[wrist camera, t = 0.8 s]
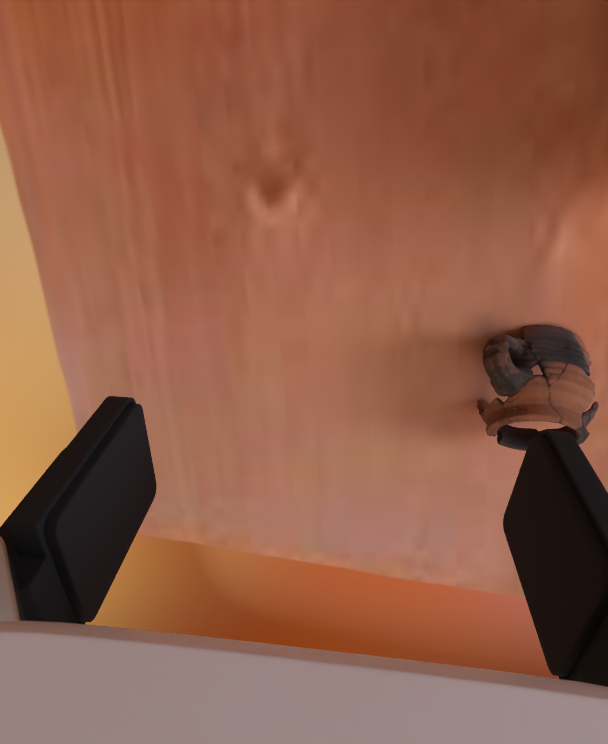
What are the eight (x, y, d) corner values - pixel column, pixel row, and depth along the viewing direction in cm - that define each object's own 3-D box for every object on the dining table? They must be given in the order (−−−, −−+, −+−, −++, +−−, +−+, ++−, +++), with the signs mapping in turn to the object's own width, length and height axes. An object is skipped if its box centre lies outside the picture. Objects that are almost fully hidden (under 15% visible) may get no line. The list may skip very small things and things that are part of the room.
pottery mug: (613, 354, 40) (626, 446, 37) (511, 384, 48) (512, 463, 44) (533, 283, 35) (539, 381, 31) (431, 328, 42) (425, 413, 38)
